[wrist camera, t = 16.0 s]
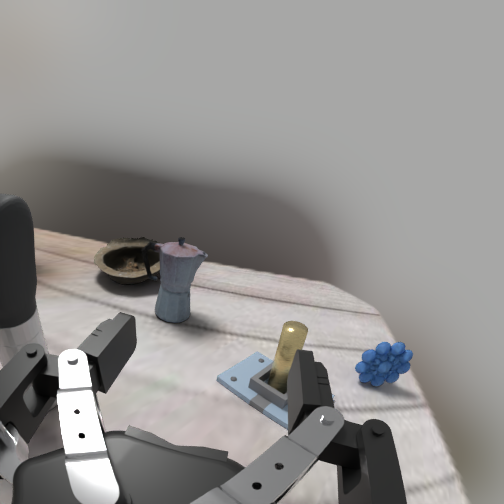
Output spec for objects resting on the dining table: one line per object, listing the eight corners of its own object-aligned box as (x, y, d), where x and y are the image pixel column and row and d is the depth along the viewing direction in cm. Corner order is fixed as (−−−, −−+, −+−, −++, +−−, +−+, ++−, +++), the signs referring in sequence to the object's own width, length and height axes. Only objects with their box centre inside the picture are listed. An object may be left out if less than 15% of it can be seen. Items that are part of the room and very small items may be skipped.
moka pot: (202, 326, 64) (211, 247, 58) (138, 321, 61) (137, 240, 54) (200, 306, 73) (208, 234, 67) (143, 301, 69) (145, 228, 63)
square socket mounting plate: (216, 380, 48) (218, 366, 47) (256, 355, 58) (259, 342, 56) (300, 437, 38) (307, 424, 37) (332, 399, 47) (338, 386, 46)
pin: (262, 388, 47) (278, 326, 42) (274, 378, 50) (291, 318, 45) (279, 399, 45) (300, 338, 40) (291, 388, 48) (312, 328, 43)
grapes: (395, 378, 54) (417, 336, 50) (397, 397, 47) (422, 353, 44) (350, 367, 57) (369, 324, 53) (348, 386, 51) (370, 341, 47)
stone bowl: (162, 258, 99) (164, 234, 95) (178, 297, 79) (180, 269, 75) (95, 258, 86) (95, 233, 83) (93, 300, 67) (91, 270, 63)
